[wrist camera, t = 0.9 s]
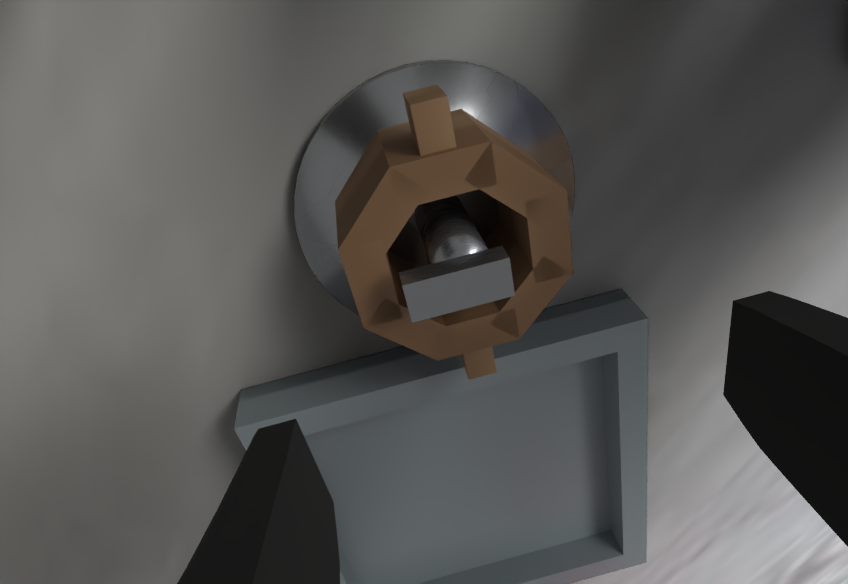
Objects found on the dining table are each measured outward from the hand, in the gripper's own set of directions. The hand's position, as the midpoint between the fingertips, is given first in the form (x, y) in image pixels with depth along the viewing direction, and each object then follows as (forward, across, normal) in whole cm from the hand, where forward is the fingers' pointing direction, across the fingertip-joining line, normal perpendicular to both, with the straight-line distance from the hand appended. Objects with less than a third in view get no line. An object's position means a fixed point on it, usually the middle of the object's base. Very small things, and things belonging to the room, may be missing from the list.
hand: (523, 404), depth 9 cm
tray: (+8, +1, +11) cm, 14 cm away
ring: (+8, 0, 0) cm, 8 cm away
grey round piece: (+8, 0, 0) cm, 8 cm away
